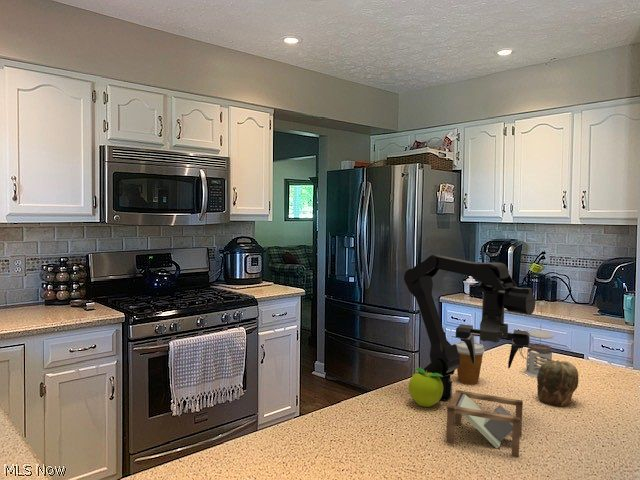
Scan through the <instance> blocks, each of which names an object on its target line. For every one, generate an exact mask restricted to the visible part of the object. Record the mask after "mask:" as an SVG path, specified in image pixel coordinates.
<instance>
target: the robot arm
mask: <svg viewBox="0 0 640 480" xmlns="http://www.w3.org/2000/svg"><path fill="white" fill-rule="evenodd" d="M439 271H446V272H449V273H455V274H460V275H464V276H469V277H471V278H473V279H474V280H476V281H478V282H480V284H479V285H478V286H477V287H475V289H474V290H475V291H476V292H480V293H481V292H482V304H481V305H482V307H481V321H480V323H479V329H477V328H474V325H471V324H462V323H461V324H459V325H458V326H457V327H456V329H455V338H458V339H460V342H465V344H466V345H467V347H468V350H469V353H470V356H471V360H472V363H473V364H474V363H475V347H474V343H475V337H479V339H480V341H482V342H492V343H494V344H495V343H500V341H501V340H506V341H507V340H508V341H511V346H510V351H509V352H510V353H509V358H508V363H507V369H510V368H511V366H512V363H513V362H514V358H515V356H516V354H517V352H518V351H519V348H520V349H521V348H522V349H523V348H524V346H525V347H526V346H527V347H529V344H530V343H529V341H530V340H531V339H530V337H531V336H530V334H529V332H530V331H527V330H519V329H518V330H517V329H514V330H513V332H509V323H505V309H506V311H507V312H509V313H515V314H521V315H528V316H531V315H532V314H533V313H534V311H535V309H536V299H535V295H534V293H533V289H532V288H531V287H518V286H517V284H516V282H515V280H513V278H512V276H511V275H510V271H509V268H508V267H507V265H506V264H505V263H504V262H503V263H502V262H476V261H469V260H464V259H459V258H454V257H451V256H446V255H445V256H444V255H442V254H432V255H430V256H428V257H427V258H425V259H424V260H423V261H422V262H420V263H418V264H417V265H415V266H414V267H412V268H409V269H407V270H406V271H405V273H404V275H403V281H404V284H405V286H406V288H407V290H408V291H409V293H411V295H412V296H413V297H414V299H415V300H416V302H417V303H416V304H417V305H418V309H419V312H420V316H421V319H422V322H423V325H424V327H425V331H426V335H427V337H428V340H429V344H430V349H429V359H430V363H429V364H428V365H427V366H425V367H424V368H422V369H423V370H425V372H426V370H427V373H439V374H441V375H442V376H443V377H441V376H438V377H439V378H440V379H441V381H442V383H443V394H442V397H441V399H440V400H441V401H446V402H447V401H449V400H450V398H452V396H453V380H451V376H452V375H454V374H455V371H457V368H458V367H459V364H460V359H459V358H461V356H460V355H459V353H458V350H457V346H456V343H455V344H451V343H450V342H449V341H448V339H447V337H446V334H445V331H444V327H443V325H442V324H443V323H442V321H441V318H440V314H439V312H438V309H437V306H436V302H435V300H434V298H433V297H434V296H433V293H432V292H433V286H434V283H433V278H434V277H435V276H436V275H437V274H438V273H439ZM500 339H501V340H500ZM529 339H530V340H529ZM440 400H439V401H440Z"/></svg>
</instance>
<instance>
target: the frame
mask: <svg viewBox="0 0 640 480" xmlns="http://www.w3.org/2000/svg"><path fill="white" fill-rule="evenodd" d="M463 394H466V395H467V396H468V397H469V398H470V399H474V400H479V401H486V402H493V403H497V404H498V403H499V404H505V405H508V406H509V405H510V406H515V416H514V415H511V416H509V415H503V414H498V413H492V412H493V411H485V410H482V411H480V410H475V409H469V408H463V407H457V405H458V403H459V401H460V399H461V397H462V395H463ZM523 403H524V400H522V399H514V398H509V397H502V396H497V395H489V394H485V393H484V394H482V393H479V392H471V391H464V390H458V389H456V390H455V392H454V393H453V395H452V397H451V400H450V401H449V403H448V406H447V409H446V411H447V413H446V437H445V438H446V439H445V442H446V443H447V444H453V443H454V441H455V425H456V426H461V425H462V420H463V419H462V416H463V415H462V414H465V415H471V416H477V417H482V418H488V419H493V420H499V421H504V422H510V423H513V431H512V432H511V433H512V435H511V437H512V438H511V456H513V457H516V458H519V457H520V440H521V439H520V438H521V437H522V432H523V431H522V429H523V407H524V406H523V405H524V404H523Z"/></svg>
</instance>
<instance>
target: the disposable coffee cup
mask: <svg viewBox="0 0 640 480" xmlns="http://www.w3.org/2000/svg"><path fill="white" fill-rule="evenodd" d="M455 344H456V346H457V350H458V353H459V355H460V356H461V358H459V359H460V364H459V367H458V368H457V369H456V372H457V381H458V382H459V383H461V384H464V385H477V384H478V383H479V380H480V373H481V367H482V364H483V363H482V361H483V355H484V354H485V351H486V350H485V348H484V345H483V344H481V343H479V342H474V347H475V363H474V364H473V363H472V360H471V356H470V353H469V350H468V347H467V345H466V344H465V342H464V341H458V342H456V343H455Z"/></svg>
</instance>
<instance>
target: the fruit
mask: <svg viewBox="0 0 640 480" xmlns="http://www.w3.org/2000/svg"><path fill="white" fill-rule="evenodd" d="M423 369H424V368H422V367H415V368H413V370H416V371H418V372H415V373H414V374H413V375H412V376H411V378H410V379H409V382H408V392H409V395H410V396H411V398H412V399H413V400H414V401H415V403H416V404H417V405H419V407H420V406H421V407H427V408H431V407H432V406H434V405H436V404H437V403H438V402H439V401H440V399H441V397H442V394H443V383H442V381H441V379H440V378H439V377H438V376H441V377H443V376H442V375H441V374H439V373H427V370H426V372H425V370H423Z"/></svg>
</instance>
